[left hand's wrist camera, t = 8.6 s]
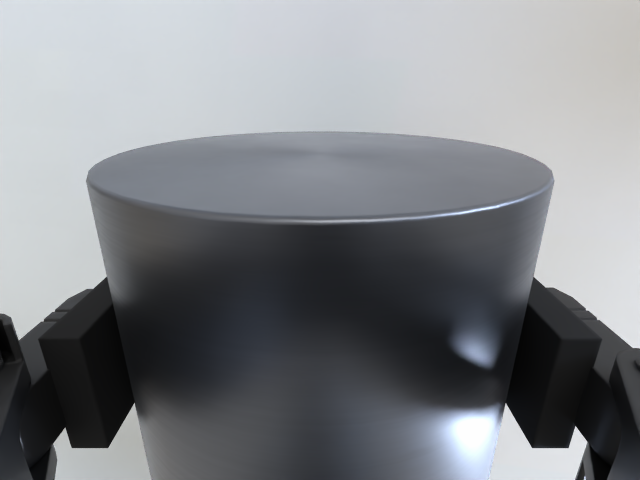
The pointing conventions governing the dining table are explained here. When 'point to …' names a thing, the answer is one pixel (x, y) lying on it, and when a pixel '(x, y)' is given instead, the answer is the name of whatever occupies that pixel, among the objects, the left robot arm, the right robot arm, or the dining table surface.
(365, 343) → the rod
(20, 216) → the dining table surface
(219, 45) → the dining table surface
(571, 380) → the left robot arm
